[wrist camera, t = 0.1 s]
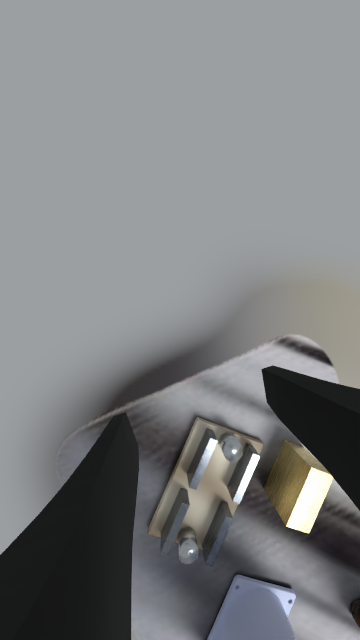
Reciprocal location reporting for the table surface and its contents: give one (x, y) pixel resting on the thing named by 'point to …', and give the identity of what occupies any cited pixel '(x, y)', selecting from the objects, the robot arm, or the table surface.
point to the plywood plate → (209, 487)
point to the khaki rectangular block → (297, 486)
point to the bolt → (356, 611)
